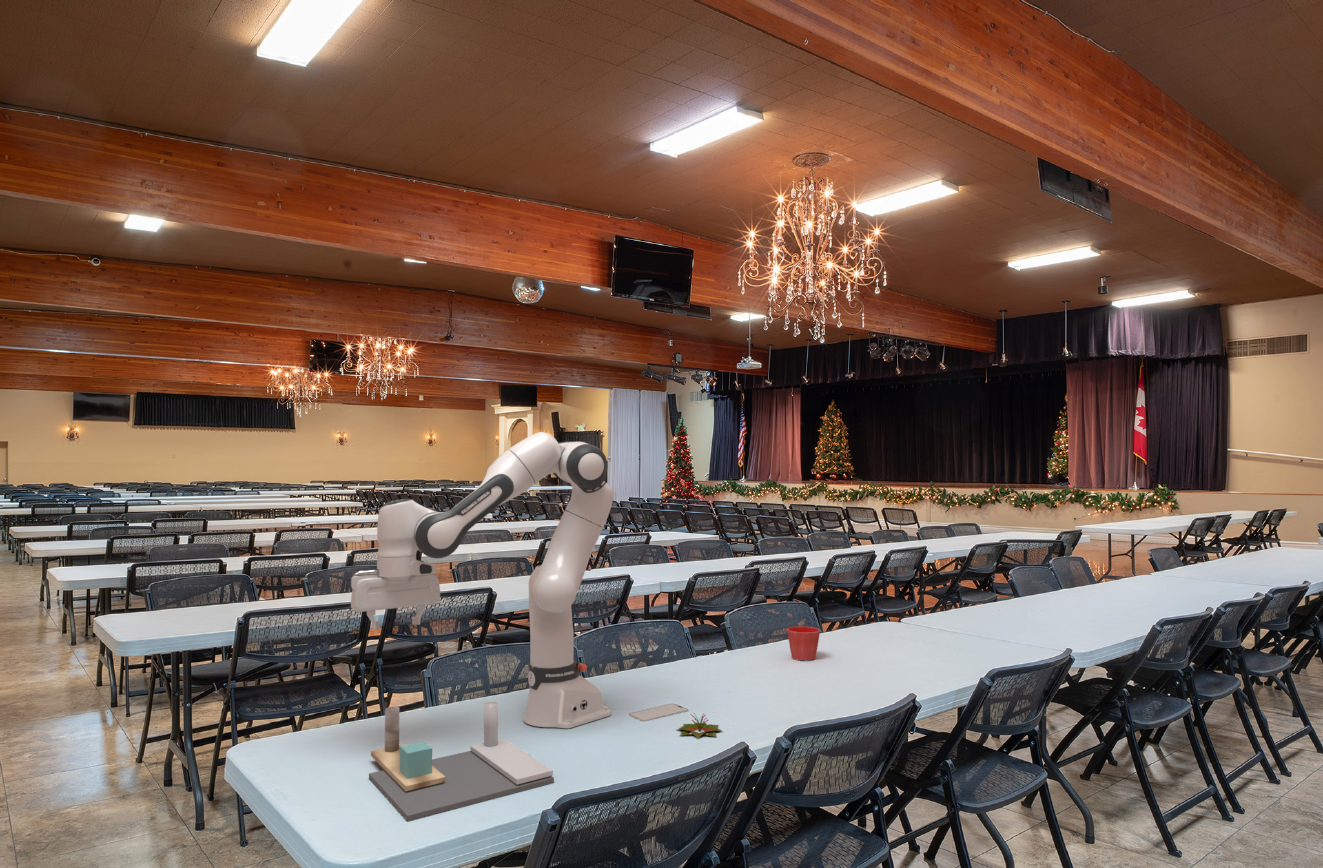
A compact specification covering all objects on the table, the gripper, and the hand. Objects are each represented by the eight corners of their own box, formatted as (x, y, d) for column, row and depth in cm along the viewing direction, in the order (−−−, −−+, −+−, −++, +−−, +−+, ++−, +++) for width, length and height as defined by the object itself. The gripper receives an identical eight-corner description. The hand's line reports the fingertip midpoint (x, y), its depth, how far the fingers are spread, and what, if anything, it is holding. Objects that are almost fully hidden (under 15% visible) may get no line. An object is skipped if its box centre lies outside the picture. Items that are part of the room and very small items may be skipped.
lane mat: (502, 747, 183) (502, 743, 183) (553, 782, 163) (553, 777, 163) (368, 778, 166) (368, 773, 166) (407, 821, 146) (407, 815, 146)
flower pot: (801, 653, 274) (800, 624, 275) (826, 658, 266) (826, 629, 266) (780, 657, 268) (780, 628, 268) (806, 663, 259) (805, 633, 260)
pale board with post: (503, 742, 183) (503, 698, 183) (552, 775, 164) (552, 725, 164) (470, 750, 178) (470, 704, 179) (516, 784, 159) (516, 733, 159)
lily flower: (722, 742, 188) (722, 722, 188) (672, 740, 189) (672, 720, 189) (725, 725, 199) (725, 707, 200) (677, 724, 201) (677, 705, 201)
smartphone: (626, 713, 208) (673, 703, 216) (627, 716, 207) (673, 705, 216) (643, 721, 202) (689, 709, 210) (643, 723, 202) (689, 712, 210)
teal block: (423, 765, 167) (423, 741, 167) (432, 772, 163) (432, 748, 163) (399, 771, 164) (399, 746, 164) (407, 778, 160) (407, 753, 160)
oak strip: (407, 747, 180) (407, 703, 180) (445, 781, 161) (445, 731, 161) (370, 755, 175) (371, 709, 176) (405, 791, 156) (406, 739, 156)
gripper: (354, 572, 180) (354, 634, 179) (442, 565, 192) (442, 623, 191) (347, 570, 185) (346, 630, 185) (433, 563, 197) (433, 619, 196)
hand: (396, 626), depth 188 cm, fingers open, 8 cm apart
